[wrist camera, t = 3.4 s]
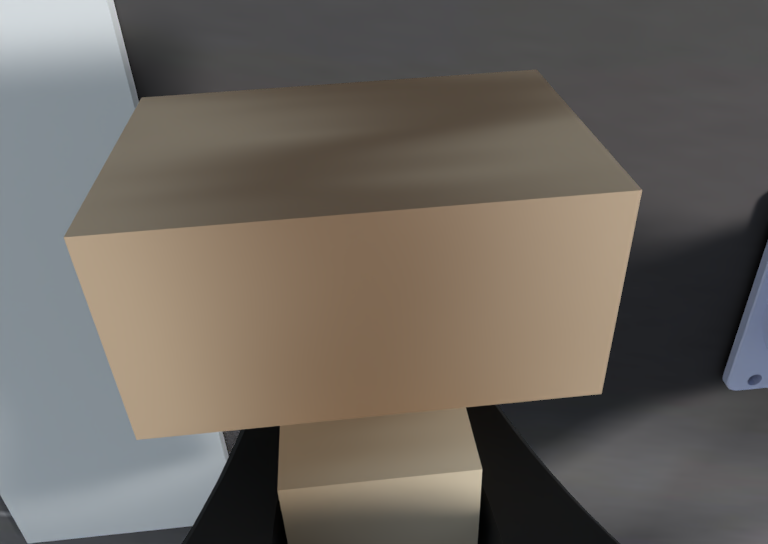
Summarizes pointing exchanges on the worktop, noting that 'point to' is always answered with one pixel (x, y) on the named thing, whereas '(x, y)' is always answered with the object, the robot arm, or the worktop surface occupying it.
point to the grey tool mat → (71, 294)
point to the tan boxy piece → (357, 281)
